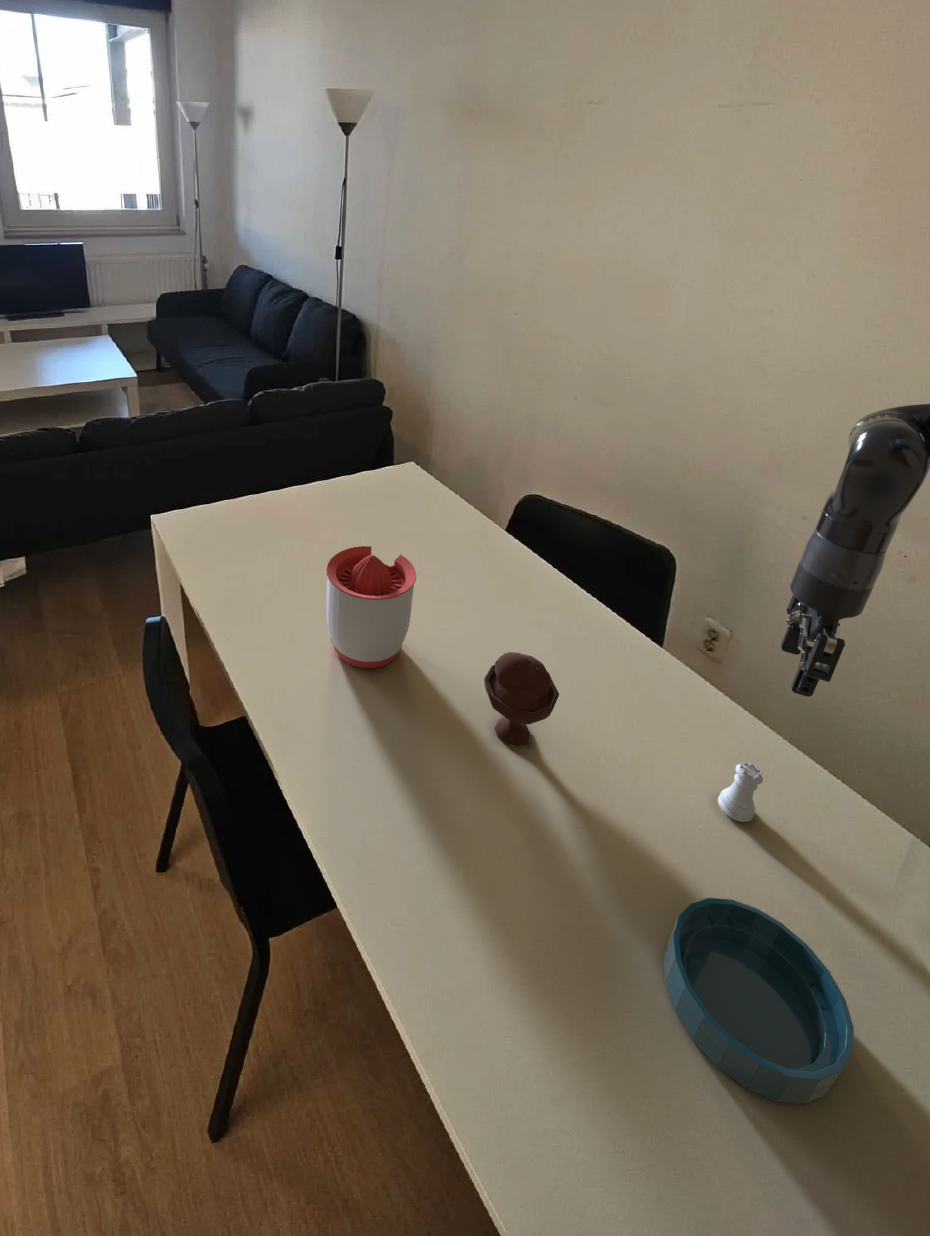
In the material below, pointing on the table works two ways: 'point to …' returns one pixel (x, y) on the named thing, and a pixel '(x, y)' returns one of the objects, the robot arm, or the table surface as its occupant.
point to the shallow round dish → (757, 1000)
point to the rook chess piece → (741, 793)
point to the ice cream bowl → (519, 695)
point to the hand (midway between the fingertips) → (794, 671)
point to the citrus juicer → (368, 606)
